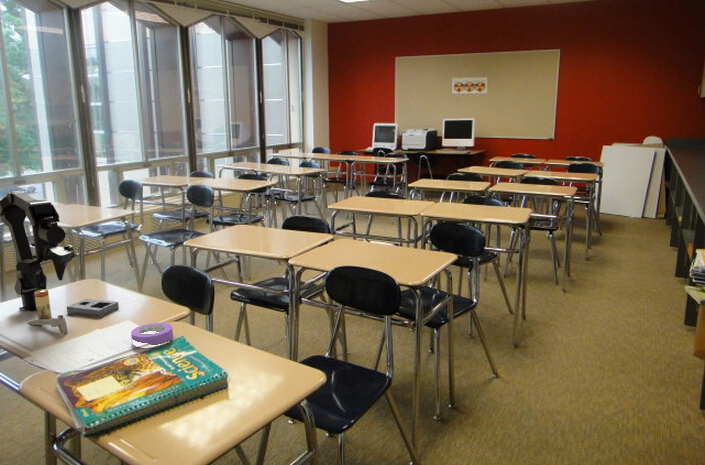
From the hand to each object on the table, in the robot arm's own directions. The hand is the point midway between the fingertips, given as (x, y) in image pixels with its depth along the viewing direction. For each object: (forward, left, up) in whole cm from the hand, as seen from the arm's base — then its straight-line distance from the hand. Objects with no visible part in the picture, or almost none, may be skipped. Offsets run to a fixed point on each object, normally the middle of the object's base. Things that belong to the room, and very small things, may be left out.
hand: (49, 284), depth 179 cm
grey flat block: (+8, +9, -12) cm, 17 cm away
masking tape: (+45, -7, -13) cm, 47 cm away
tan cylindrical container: (-2, -2, -12) cm, 12 cm away
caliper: (+5, -8, -13) cm, 16 cm away
